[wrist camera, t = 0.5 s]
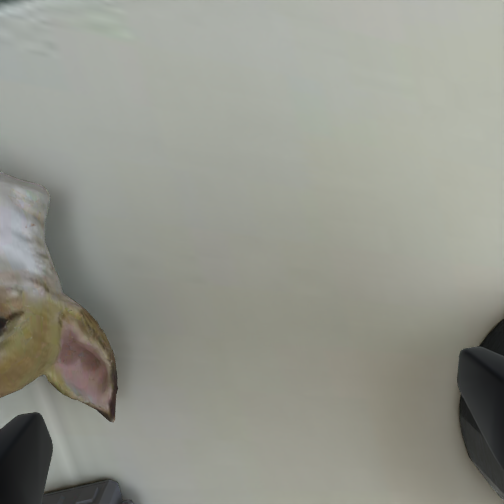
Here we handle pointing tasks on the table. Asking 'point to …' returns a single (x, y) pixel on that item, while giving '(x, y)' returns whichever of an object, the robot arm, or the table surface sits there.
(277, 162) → the table surface
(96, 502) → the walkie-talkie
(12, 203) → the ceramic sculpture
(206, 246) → the table surface
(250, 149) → the table surface
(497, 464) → the pot
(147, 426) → the table surface
